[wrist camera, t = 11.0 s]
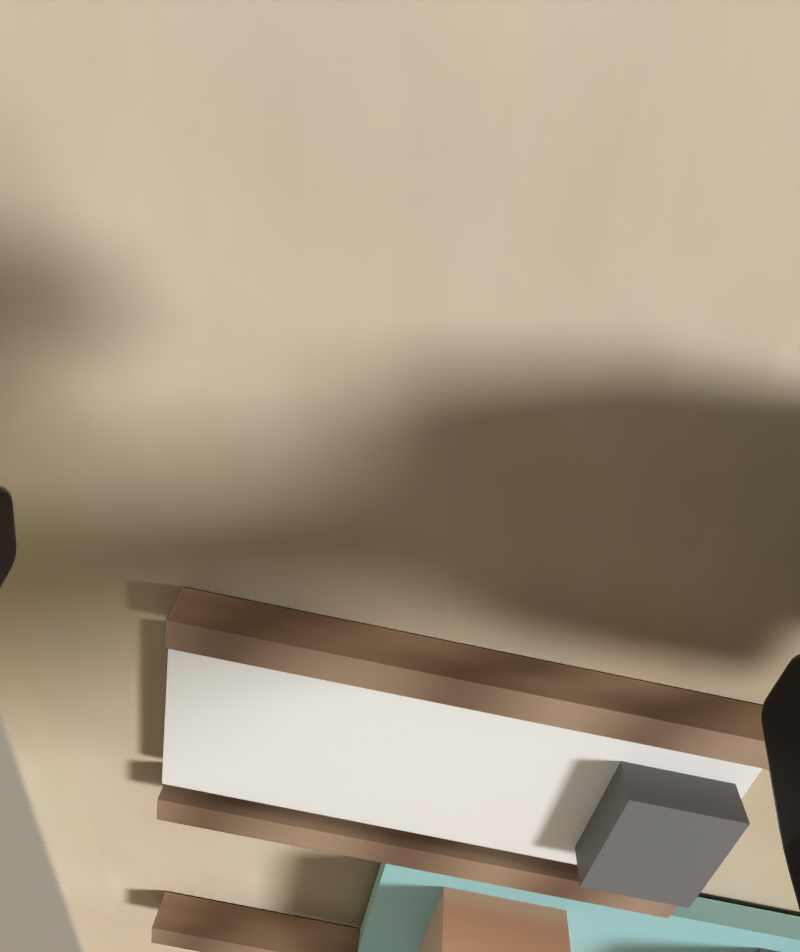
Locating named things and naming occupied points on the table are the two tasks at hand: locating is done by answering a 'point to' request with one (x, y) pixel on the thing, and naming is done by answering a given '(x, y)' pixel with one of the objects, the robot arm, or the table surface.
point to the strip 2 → (576, 919)
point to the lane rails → (431, 679)
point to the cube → (494, 925)
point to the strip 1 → (455, 775)
